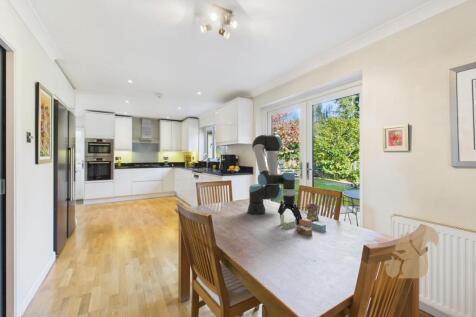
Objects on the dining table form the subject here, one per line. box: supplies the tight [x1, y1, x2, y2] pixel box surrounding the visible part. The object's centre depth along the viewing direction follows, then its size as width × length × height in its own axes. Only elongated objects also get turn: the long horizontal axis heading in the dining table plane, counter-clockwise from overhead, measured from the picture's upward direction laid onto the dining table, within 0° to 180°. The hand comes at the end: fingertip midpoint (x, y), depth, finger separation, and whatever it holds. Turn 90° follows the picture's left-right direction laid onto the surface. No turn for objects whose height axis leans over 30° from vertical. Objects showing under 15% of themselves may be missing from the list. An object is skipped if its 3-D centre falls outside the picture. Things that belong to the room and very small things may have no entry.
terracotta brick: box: [299, 216, 313, 228], centre depth 150 cm, size 8×4×4 cm, turn 31°
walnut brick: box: [296, 225, 313, 238], centre depth 132 cm, size 8×4×4 cm, turn 31°
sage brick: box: [282, 219, 295, 230], centre depth 146 cm, size 8×4×4 cm, turn 122°
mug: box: [302, 203, 320, 221], centre depth 161 cm, size 12×9×11 cm
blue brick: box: [310, 221, 327, 233], centre depth 140 cm, size 8×4×4 cm, turn 36°
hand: (289, 226), depth 146 cm, fingers open, 13 cm apart
